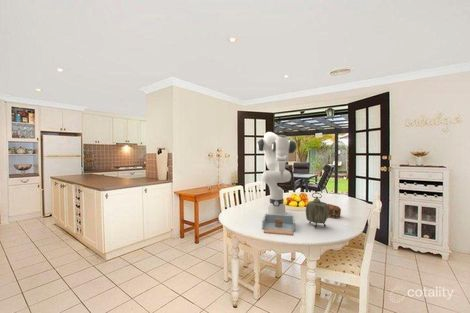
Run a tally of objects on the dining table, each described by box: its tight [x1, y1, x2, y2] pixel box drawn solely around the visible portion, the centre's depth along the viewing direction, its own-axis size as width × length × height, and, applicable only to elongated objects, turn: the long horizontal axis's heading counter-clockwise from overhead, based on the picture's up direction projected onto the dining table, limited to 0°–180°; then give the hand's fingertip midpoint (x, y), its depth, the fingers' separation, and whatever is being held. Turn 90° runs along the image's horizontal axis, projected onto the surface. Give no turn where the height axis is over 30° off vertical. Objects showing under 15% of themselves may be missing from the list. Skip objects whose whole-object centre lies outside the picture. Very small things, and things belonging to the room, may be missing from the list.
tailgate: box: [263, 229, 294, 236], centre depth 148 cm, size 1×19×7 cm
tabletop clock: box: [305, 192, 329, 228], centre depth 162 cm, size 14×9×25 cm, turn 59°
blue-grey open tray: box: [261, 213, 296, 233], centre depth 159 cm, size 17×22×7 cm
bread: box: [326, 203, 342, 219], centre depth 190 cm, size 19×11×10 cm, turn 49°
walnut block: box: [275, 218, 283, 227], centre depth 160 cm, size 5×5×5 cm
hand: (281, 176), depth 159 cm, fingers open, 8 cm apart
